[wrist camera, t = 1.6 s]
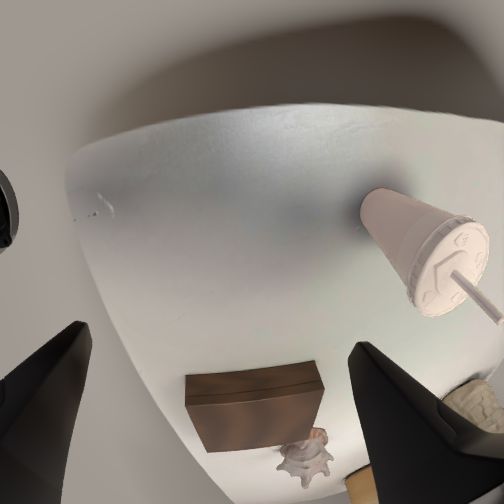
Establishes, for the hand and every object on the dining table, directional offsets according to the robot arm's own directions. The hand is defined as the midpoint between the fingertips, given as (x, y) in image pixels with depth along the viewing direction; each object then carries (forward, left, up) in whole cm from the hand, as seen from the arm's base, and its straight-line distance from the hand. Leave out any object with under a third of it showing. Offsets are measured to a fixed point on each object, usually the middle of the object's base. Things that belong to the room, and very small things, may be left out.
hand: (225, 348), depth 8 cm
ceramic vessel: (+50, -51, -13) cm, 72 cm away
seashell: (+10, -43, -13) cm, 46 cm away
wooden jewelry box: (+2, -25, -13) cm, 28 cm away
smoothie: (+13, -1, -13) cm, 18 cm away
